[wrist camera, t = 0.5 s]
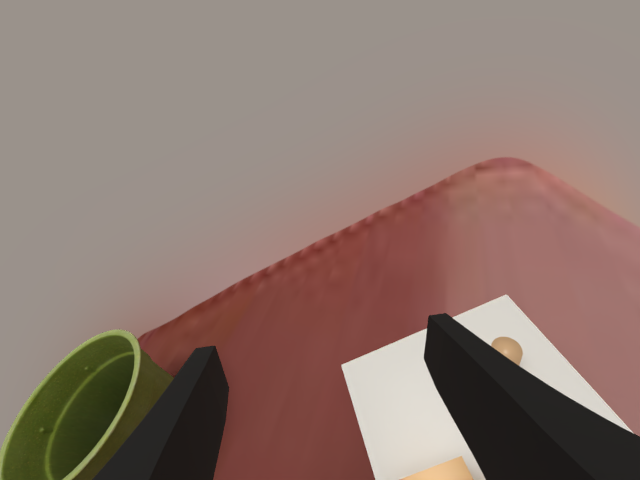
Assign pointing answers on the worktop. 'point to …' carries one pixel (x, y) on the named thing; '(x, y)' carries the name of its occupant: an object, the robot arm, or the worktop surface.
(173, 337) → the worktop surface
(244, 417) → the worktop surface
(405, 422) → the plate
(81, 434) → the plant pot
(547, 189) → the worktop surface
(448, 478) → the wooden toy cube
